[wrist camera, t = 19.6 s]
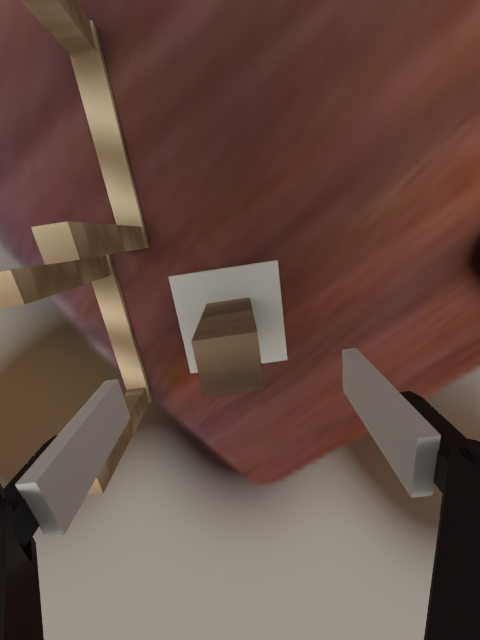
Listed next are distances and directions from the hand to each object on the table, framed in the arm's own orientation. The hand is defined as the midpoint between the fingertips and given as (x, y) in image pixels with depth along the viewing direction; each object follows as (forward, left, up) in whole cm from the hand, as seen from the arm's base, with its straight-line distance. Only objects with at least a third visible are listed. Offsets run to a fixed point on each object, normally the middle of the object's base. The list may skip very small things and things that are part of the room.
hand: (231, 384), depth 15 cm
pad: (0, 0, -14) cm, 14 cm away
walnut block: (0, 0, -13) cm, 13 cm away
